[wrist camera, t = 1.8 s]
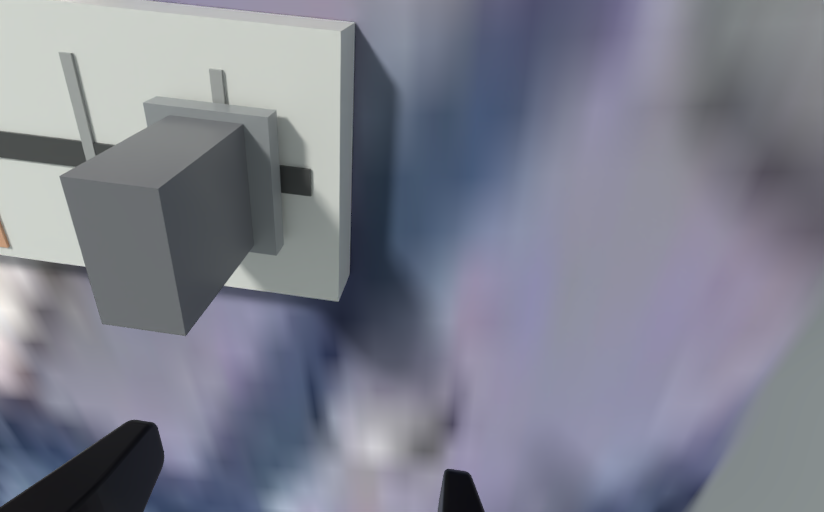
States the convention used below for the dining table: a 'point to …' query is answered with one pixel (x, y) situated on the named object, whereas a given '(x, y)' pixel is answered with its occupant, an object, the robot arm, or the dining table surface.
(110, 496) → the robot arm
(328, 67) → the fader console
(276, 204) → the fader slider
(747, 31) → the dining table surface
